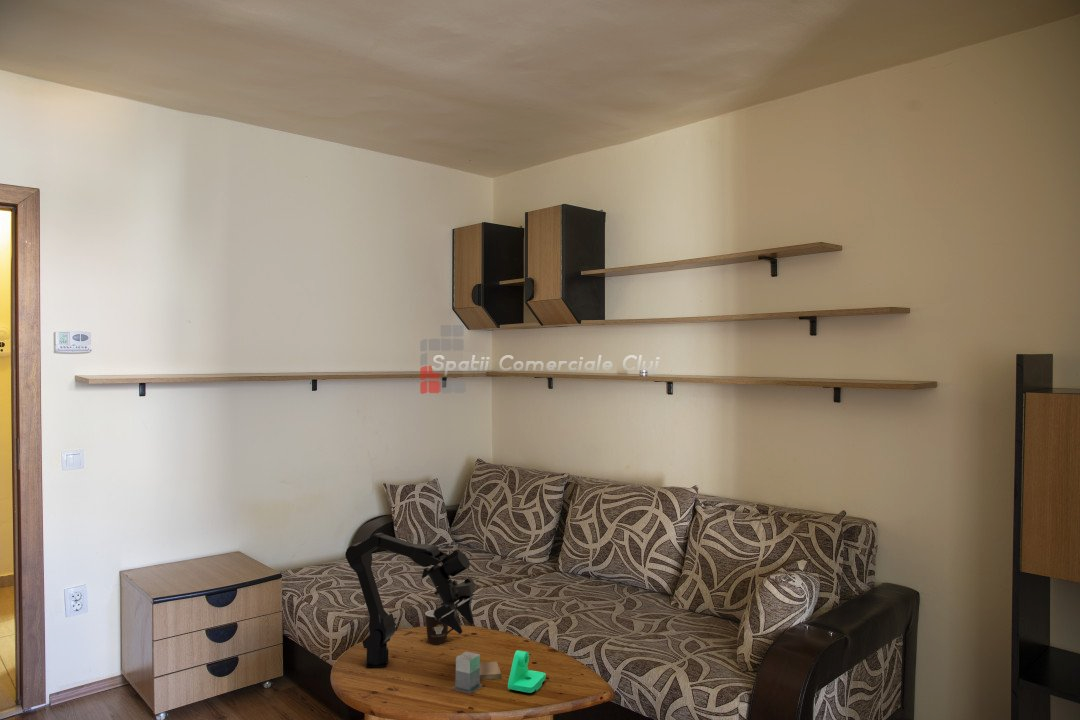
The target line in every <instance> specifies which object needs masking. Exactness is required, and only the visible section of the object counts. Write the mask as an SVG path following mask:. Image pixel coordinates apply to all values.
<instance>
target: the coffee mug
mask: <svg viewBox="0 0 1080 720" xmlns="http://www.w3.org/2000/svg"><path fill="white" fill-rule="evenodd" d="M434 610H435V609H431V610H428V611H426V612H425V613H424V614H425V616H424V617H425V624H426V635H427V636H426V638H427V644H429V643H430V644H429V645H431V644H433V645H432V646H441V645H440V644H442V645H445V644H446V643H447V638H448V634H449V633H451V631H454V629H452V628H450V629H449V626H448V625H446V624H445V623H443V622H442V621H439V619H441V618H442V617H441V618H439V619H437V620H436V619H435V617H434V615H433V613H434ZM456 616H457V618H458V621H459V623H460V622H461V618H460V617H459V616H458V615H456ZM460 624H461V623H460ZM445 642H446V643H445Z"/></svg>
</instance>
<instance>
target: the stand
mask: <svg viewBox="0 0 1080 720" xmlns="http://www.w3.org/2000/svg"><path fill="white" fill-rule="evenodd" d="M499 679H502V672H501V669H500V667H499V665H498V661H486V662H485V661H484V662H483V661H482V662H480V681H484V680H499Z"/></svg>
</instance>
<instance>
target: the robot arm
mask: <svg viewBox="0 0 1080 720" xmlns="http://www.w3.org/2000/svg"><path fill="white" fill-rule="evenodd" d="M378 548H379V549H382V550H385V551H388V552H390V553H394V554H398V555H401V556H404V557H406V558H409V559H410V560H411V561H412V562H413V563H415V564H417V565H418V566H420V567H422V568H423V572H422V574H421V578H423V579H425V578H426V577H427V576H428V578H429V579H430V582H431V584H432V585H433V587H434V589H435V592H434V594H435V596H437V595H438V596H439V598H440V600H441V602H442V603H440V606H439V607H437V608H435V609H433V610H434V613H433V615H434V617H435V619H436V620H437V619H439V618H441V617H442V618H441V619H439V621H442V622H443V623H445V624H446V625H448V628H450V629H453V631H455V632H456V633H458V635H461V634H463V633H464V632H463V629H462V625H461V623H459V620H458V618H457V616H458V615H457V613H460V614H461V616H462V617H463V618H464V619H465V621H467V622H468V624H470V625H471V626H472V625H473V624H474V623H475V621H474V616H473V611H472V601H473V599H474V597H473V596H475V594H474V593H476V588H475V587H476V585H477V584H476V583H475V581H474V580H473V579H472V577H467V578H465V579H464V581H463V582H461V583H458V582H457V580H455V579H454V580H453V579H452V577H453V578H454V577H457V576H458V575H459V574H462V573H463V572H465V571H466V570H467V569H470V567H471V565H470V564H471V563H470V561H469V558H468V556H467V555H466V554H465V553H464V552H462V551H461V550H460V548H457V549H455V550H454V551H452V553H450V554H448V553H446V552H443V551H442V550H440V549H439V547H438V546H436V545H434V544H427V543H425V544H424V543H421V544H420V543H413V542H411V541H410V542H409V541H406V540H403V539H400V538H397V537H393V536H390V535H387V534H385V533H383V532H378V533H375V534H372V535H371V536H370V537H369V538H367V539H365V540H363V541H360V542H358V543H355V544H352V545H350V546H348V547H347V549H346V551H345V559H346V562H347V563H348V565H349V567H350V568H351V570H353V571H354V572H355V574H356V577H357V579H358V583H359V586H360V589H361V592H362V593H361V594H363V599H364V602H365V605H366V608H367V611H368V615H369V619H368V633H369V635H368V636H367V637H366V638H364V639H363V640H362V645H363V649H366V660H365V661H366V662H365V668H366V667H369V668H368V669H370V667H374V668H386V667H387V666H388V665H387V664H388V663H389V647H388V645H387V644H388V642H390V641H391V638H392V637H393V636H394V635H395V632H396V626H397V624H396V621H395V620H394V614H393V613H388V612H386V610H385V609H384V608H385V607H384V604H383V603H382V598H381V595H380V593H379V589H378V586H377V582H376V580H375V575H374V574H373V573H374V572H373V569H372V565H373V564H372V563H373V554H372V552H374V551H375V550H378ZM439 564H441V565H439Z"/></svg>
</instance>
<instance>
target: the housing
mask: <svg viewBox="0 0 1080 720" xmlns="http://www.w3.org/2000/svg"><path fill="white" fill-rule="evenodd" d="M480 663H481V654H480V653H476V652H472V651H471V652H470V651H465V652H463V653H461V654H459V655H457V656H456V657H455V685H454V686H452V688H451V689H452V690H453V691H458V692H462V693H465V694H468V695H472V694H473V693H475V692H476V691H477V690H480V688H482V687H483V685H484V684H483V683H481V682H480V681H481V680H480Z"/></svg>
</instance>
